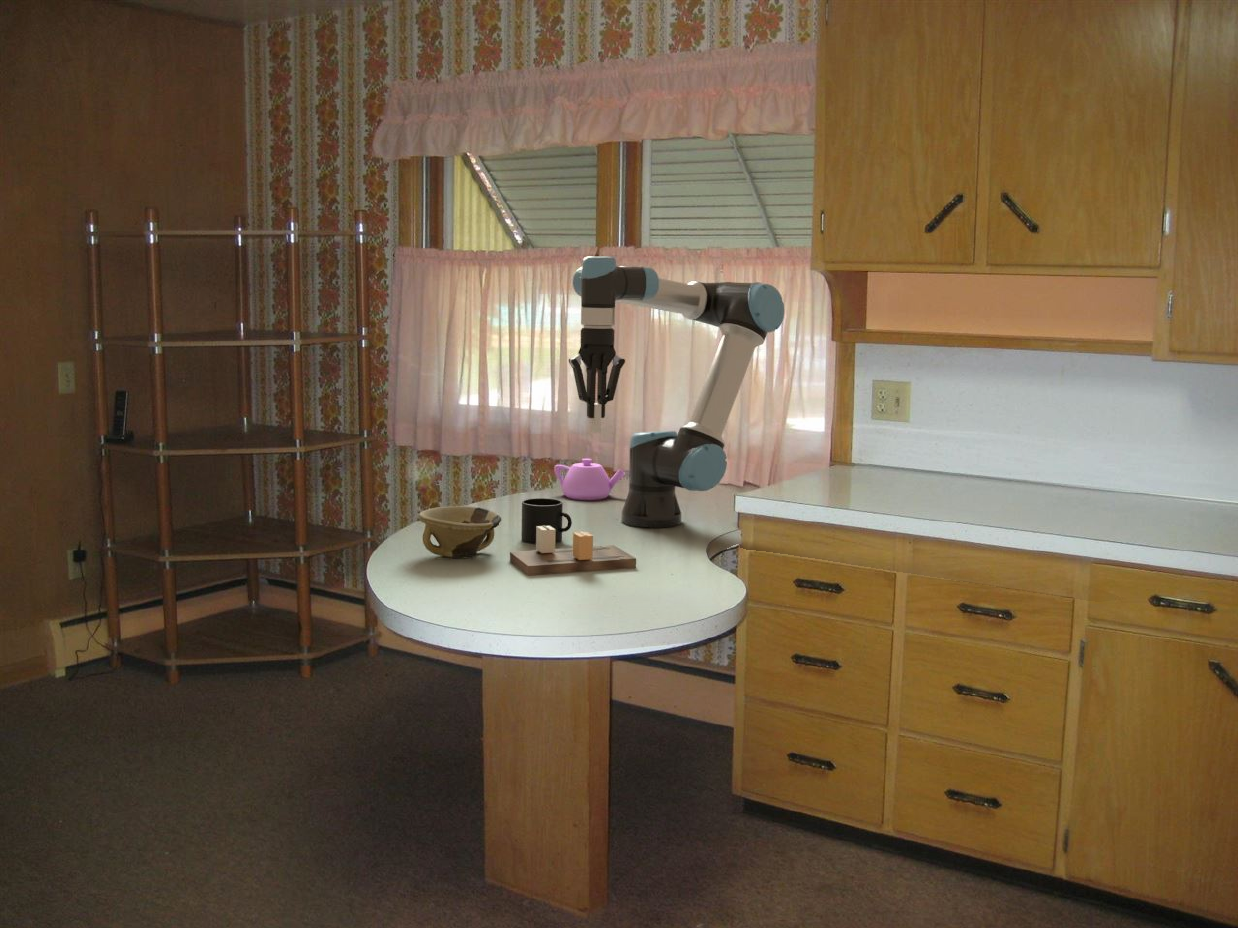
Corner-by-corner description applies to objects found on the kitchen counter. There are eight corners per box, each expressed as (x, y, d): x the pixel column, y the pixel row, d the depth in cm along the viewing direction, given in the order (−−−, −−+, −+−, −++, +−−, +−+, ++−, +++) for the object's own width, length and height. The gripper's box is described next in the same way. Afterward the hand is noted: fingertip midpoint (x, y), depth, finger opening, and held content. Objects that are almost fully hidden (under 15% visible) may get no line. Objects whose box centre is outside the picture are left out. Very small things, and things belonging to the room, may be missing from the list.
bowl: (434, 568, 252) (434, 523, 250) (408, 550, 268) (408, 507, 266) (512, 561, 260) (513, 517, 258) (482, 543, 276) (483, 502, 274)
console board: (613, 553, 269) (613, 544, 268) (635, 567, 257) (636, 557, 256) (509, 560, 260) (510, 551, 259) (528, 575, 248) (528, 565, 248)
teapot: (621, 502, 329) (622, 464, 327) (549, 499, 332) (550, 461, 330) (627, 494, 343) (628, 456, 341) (558, 490, 345) (558, 453, 343)
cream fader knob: (549, 548, 262) (549, 524, 261) (555, 552, 259) (555, 528, 258) (536, 548, 261) (536, 525, 260) (541, 553, 257) (542, 529, 257)
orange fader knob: (586, 554, 257) (586, 530, 256) (592, 559, 253) (593, 534, 252) (572, 555, 256) (573, 531, 255) (579, 559, 252) (579, 535, 251)
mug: (564, 547, 274) (564, 508, 273) (515, 542, 278) (515, 503, 276) (577, 538, 283) (578, 500, 282) (530, 534, 287) (530, 496, 285)
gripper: (618, 326, 273) (616, 429, 277) (564, 326, 268) (562, 431, 272) (631, 328, 266) (628, 433, 270) (575, 327, 261) (573, 435, 265)
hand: (595, 432), depth 271 cm, fingers closed
